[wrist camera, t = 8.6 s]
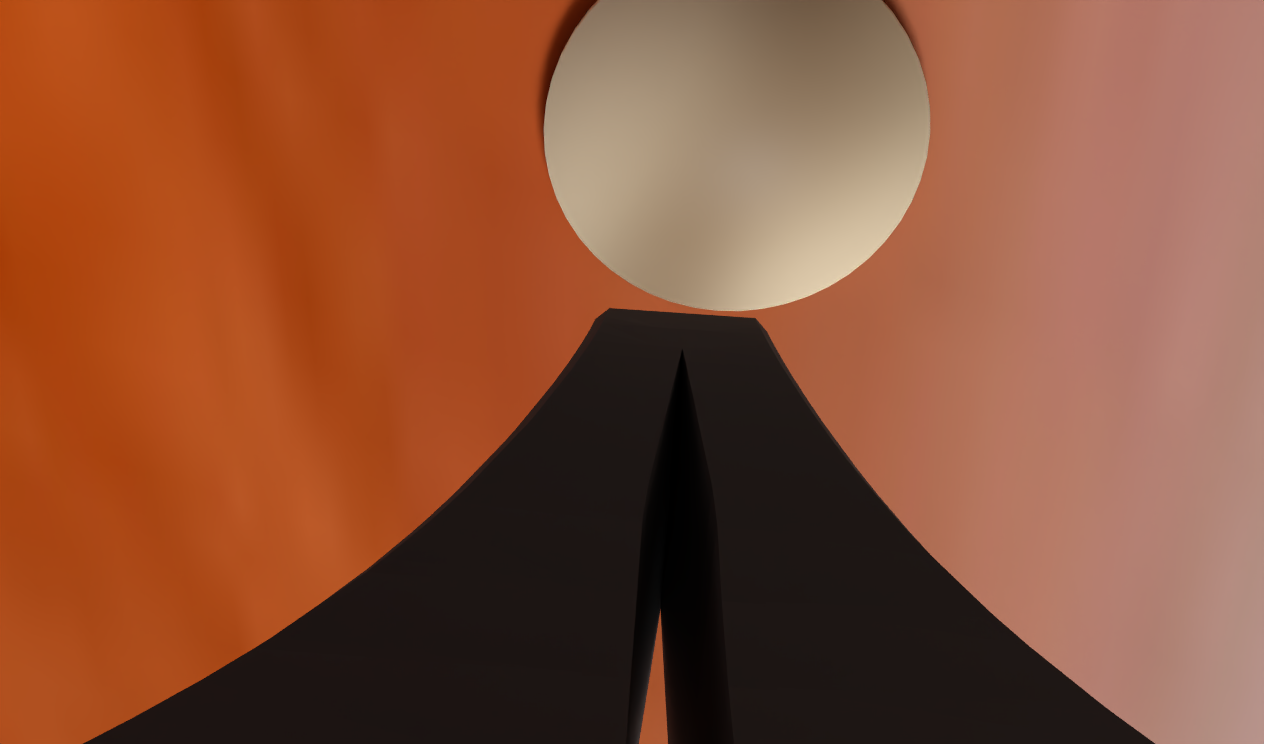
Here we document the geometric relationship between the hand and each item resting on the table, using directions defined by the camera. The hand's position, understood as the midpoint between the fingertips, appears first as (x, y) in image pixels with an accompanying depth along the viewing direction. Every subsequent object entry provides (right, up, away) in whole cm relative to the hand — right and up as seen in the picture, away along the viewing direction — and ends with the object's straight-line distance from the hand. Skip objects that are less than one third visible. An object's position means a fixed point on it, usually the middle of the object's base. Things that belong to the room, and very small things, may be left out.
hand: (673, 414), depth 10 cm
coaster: (+1, +4, +9) cm, 10 cm away
